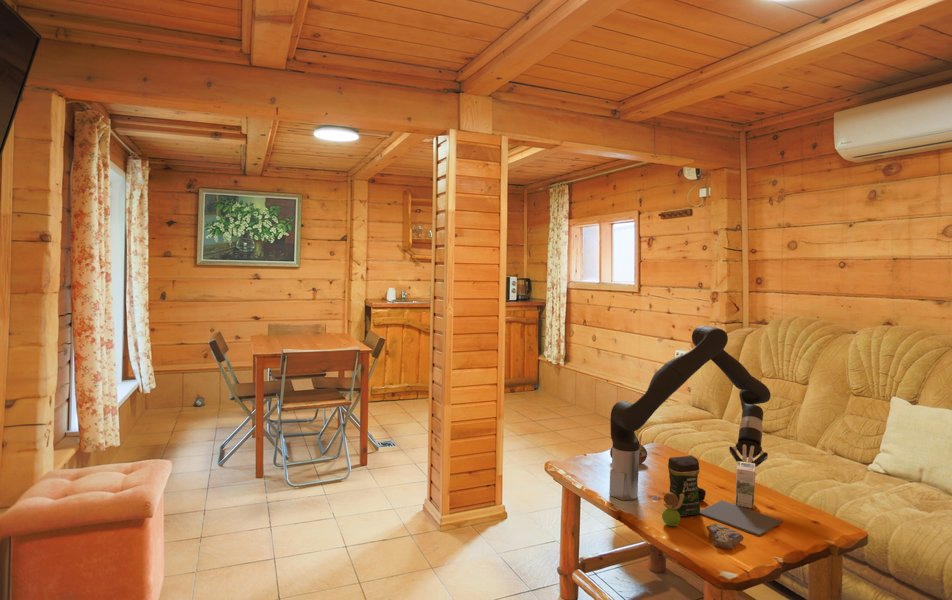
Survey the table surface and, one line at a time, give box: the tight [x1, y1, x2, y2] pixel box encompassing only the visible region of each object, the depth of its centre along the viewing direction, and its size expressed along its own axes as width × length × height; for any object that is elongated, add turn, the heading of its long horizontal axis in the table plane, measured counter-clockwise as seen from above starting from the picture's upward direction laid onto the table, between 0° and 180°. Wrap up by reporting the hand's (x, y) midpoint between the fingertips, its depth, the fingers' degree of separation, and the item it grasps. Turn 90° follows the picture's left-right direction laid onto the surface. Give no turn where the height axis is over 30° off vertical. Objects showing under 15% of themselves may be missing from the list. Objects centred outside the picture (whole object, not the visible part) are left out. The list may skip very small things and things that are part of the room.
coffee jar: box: [667, 455, 701, 517], centre depth 187 cm, size 10×8×19 cm
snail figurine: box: [661, 490, 685, 527], centre depth 177 cm, size 5×6×12 cm
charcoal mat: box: [698, 499, 783, 537], centre depth 184 cm, size 16×20×1 cm
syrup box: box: [734, 461, 757, 510], centre depth 193 cm, size 6×6×14 cm
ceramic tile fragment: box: [706, 523, 745, 550], centre depth 168 cm, size 12×3×10 cm
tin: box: [609, 444, 648, 465], centre depth 235 cm, size 15×3×8 cm, turn 90°
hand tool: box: [668, 471, 707, 502], centre depth 208 cm, size 23×5×6 cm, turn 4°
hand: (745, 474), depth 195 cm, fingers closed
